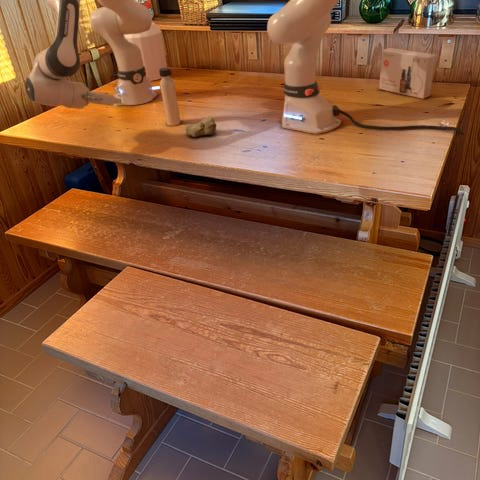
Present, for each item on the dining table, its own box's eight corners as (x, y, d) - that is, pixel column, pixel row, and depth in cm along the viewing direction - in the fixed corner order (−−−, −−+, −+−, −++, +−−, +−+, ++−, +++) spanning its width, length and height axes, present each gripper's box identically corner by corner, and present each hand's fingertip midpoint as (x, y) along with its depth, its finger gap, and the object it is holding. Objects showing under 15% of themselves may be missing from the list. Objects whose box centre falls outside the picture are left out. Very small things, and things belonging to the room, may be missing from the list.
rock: (185, 134, 174) (189, 139, 165) (182, 117, 171) (186, 121, 162) (213, 129, 176) (218, 134, 167) (210, 112, 173) (216, 117, 164)
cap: (161, 74, 173) (159, 68, 172) (172, 73, 173) (171, 67, 172) (159, 77, 170) (158, 71, 169) (170, 76, 170) (169, 70, 169)
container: (160, 81, 233) (149, 21, 217) (121, 82, 238) (108, 23, 222) (174, 69, 249) (165, 13, 233) (138, 70, 254) (126, 15, 238)
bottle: (168, 121, 185) (158, 68, 173) (181, 120, 184) (172, 67, 173) (166, 126, 180) (156, 72, 169) (179, 125, 180) (171, 71, 168)
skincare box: (377, 89, 194) (381, 50, 185) (385, 86, 197) (389, 47, 188) (423, 99, 180) (429, 56, 171) (430, 95, 183) (437, 53, 174)
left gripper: (90, 87, 150) (129, 93, 159) (65, 84, 164) (102, 89, 173) (89, 107, 151) (127, 111, 161) (65, 102, 166) (101, 107, 175)
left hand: (114, 100), depth 167 cm, fingers open, 8 cm apart
